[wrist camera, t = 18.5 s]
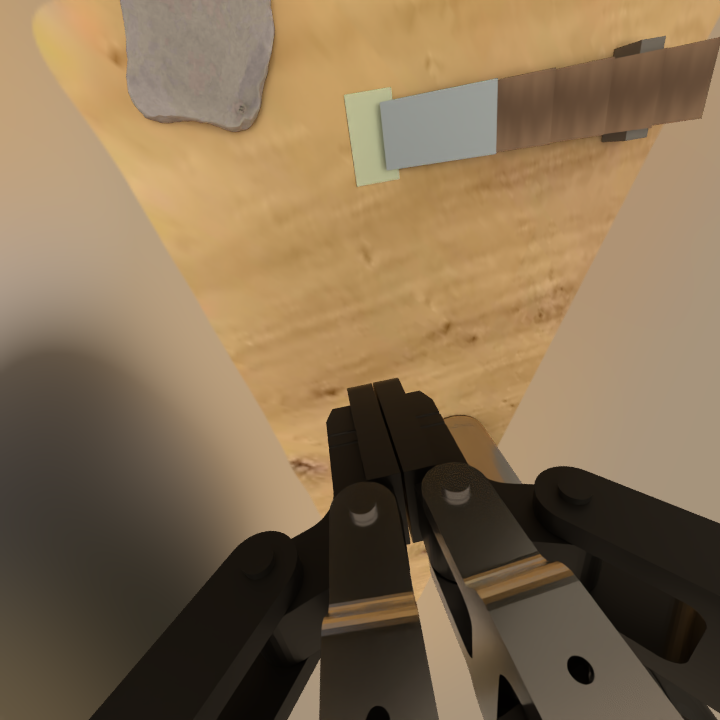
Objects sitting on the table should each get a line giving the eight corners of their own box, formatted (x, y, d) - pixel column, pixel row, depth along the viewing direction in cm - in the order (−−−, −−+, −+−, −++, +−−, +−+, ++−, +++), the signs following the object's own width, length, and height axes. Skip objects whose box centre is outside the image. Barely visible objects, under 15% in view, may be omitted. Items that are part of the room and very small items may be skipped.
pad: (399, 178, 35) (399, 178, 35) (356, 186, 35) (357, 186, 35) (390, 87, 32) (391, 86, 31) (343, 95, 31) (344, 94, 31)
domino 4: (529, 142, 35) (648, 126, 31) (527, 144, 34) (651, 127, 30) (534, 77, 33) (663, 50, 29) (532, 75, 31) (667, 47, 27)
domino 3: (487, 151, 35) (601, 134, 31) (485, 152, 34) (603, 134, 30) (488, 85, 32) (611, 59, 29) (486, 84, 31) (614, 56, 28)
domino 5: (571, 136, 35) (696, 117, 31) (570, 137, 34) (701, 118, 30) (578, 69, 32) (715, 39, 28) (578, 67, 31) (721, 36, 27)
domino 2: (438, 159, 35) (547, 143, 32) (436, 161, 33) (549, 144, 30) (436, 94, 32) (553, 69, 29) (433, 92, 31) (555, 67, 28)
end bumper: (621, 138, 36) (646, 136, 33) (601, 141, 36) (625, 140, 33) (636, 45, 33) (665, 36, 30) (614, 49, 33) (642, 39, 30)
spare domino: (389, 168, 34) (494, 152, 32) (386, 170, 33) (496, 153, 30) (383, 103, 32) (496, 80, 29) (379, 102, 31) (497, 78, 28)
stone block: (270, -41, 28) (115, -95, 25) (280, -66, 25) (98, -134, 21) (264, 140, 34) (137, 118, 30) (272, 142, 30) (128, 117, 27)
